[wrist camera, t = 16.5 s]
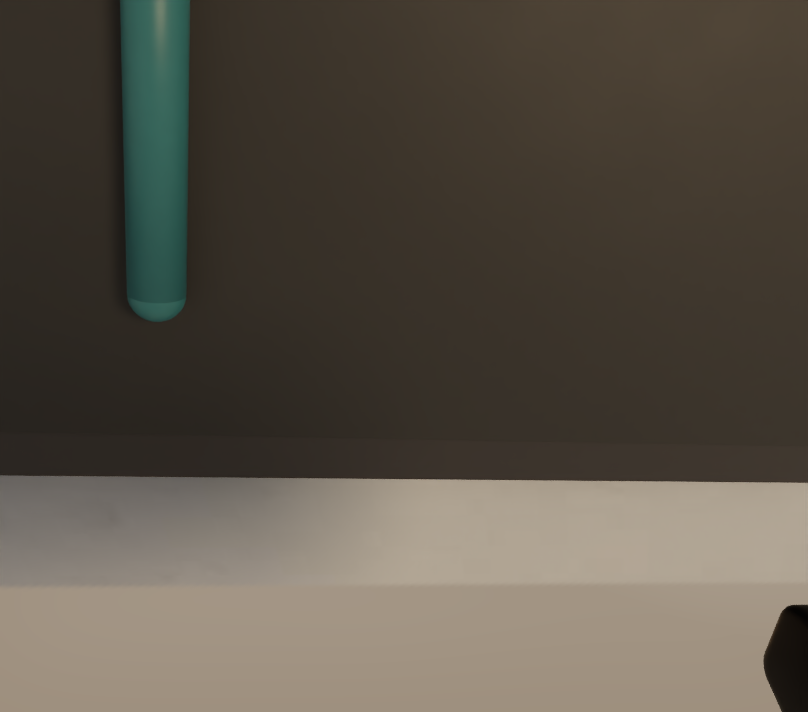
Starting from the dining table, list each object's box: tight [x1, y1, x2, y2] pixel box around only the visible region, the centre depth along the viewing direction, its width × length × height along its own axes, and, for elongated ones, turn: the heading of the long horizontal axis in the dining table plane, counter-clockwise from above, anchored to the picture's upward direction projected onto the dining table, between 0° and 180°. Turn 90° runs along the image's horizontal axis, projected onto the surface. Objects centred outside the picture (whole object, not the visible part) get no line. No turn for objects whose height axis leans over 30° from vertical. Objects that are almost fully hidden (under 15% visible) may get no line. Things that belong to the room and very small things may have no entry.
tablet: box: [0, 0, 808, 483], centre depth 18 cm, size 28×20×1 cm
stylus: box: [120, 0, 190, 322], centre depth 15 cm, size 1×1×13 cm
